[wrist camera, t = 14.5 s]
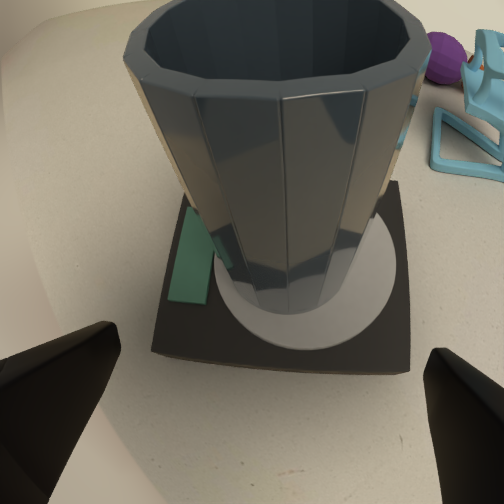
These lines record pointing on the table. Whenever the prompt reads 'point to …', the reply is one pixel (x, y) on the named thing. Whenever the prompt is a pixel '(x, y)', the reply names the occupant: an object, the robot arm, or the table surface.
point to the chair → (477, 108)
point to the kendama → (446, 59)
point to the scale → (290, 326)
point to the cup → (281, 129)
